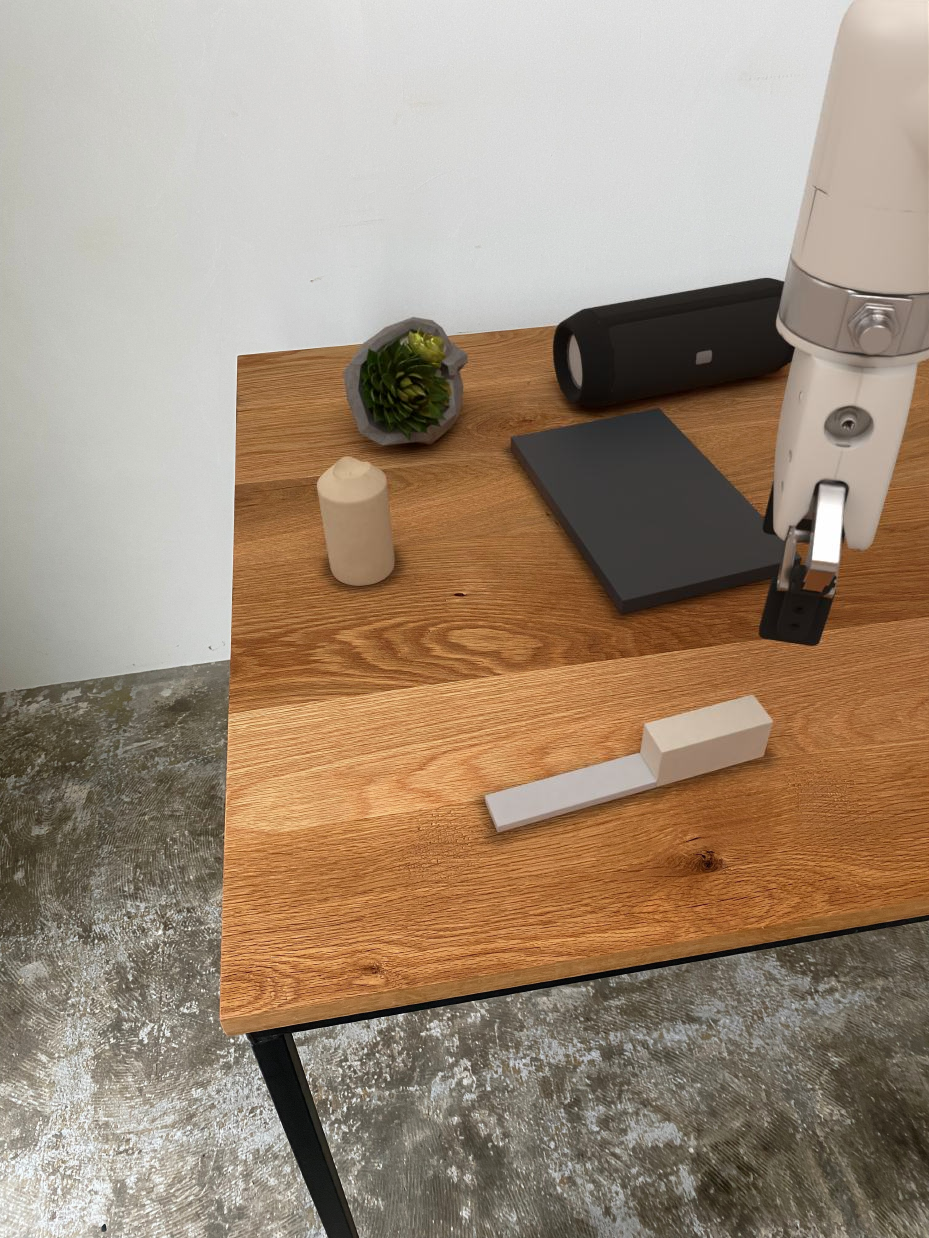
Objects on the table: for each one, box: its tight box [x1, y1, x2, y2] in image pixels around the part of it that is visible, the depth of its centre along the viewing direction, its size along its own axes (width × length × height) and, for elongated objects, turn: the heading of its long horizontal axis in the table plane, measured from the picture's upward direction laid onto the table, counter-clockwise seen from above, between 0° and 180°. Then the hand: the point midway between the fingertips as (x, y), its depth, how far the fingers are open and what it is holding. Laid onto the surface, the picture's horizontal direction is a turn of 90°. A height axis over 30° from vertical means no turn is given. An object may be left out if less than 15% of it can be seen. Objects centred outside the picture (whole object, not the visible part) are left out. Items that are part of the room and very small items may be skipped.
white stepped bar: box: [484, 694, 774, 833], centre depth 61 cm, size 19×3×4 cm, turn 108°
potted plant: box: [342, 316, 469, 446], centre depth 91 cm, size 12×13×15 cm
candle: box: [316, 455, 396, 587], centre depth 76 cm, size 6×6×10 cm
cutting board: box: [510, 407, 803, 615], centre depth 84 cm, size 16×26×2 cm, turn 18°
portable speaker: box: [552, 277, 795, 408], centre depth 98 cm, size 26×10×10 cm, turn 108°
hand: (787, 583), depth 55 cm, fingers open, 9 cm apart
